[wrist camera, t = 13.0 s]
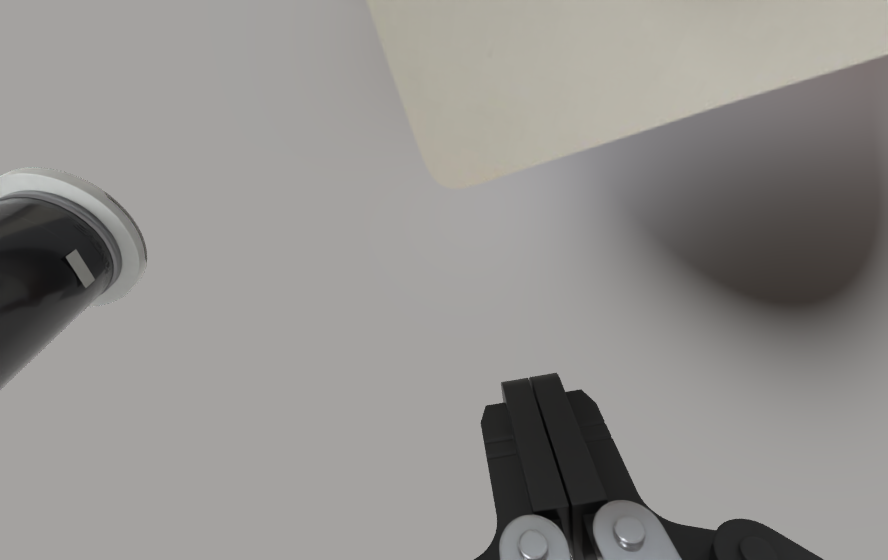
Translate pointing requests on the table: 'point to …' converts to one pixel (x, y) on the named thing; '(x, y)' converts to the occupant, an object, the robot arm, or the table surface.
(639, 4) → the table surface
